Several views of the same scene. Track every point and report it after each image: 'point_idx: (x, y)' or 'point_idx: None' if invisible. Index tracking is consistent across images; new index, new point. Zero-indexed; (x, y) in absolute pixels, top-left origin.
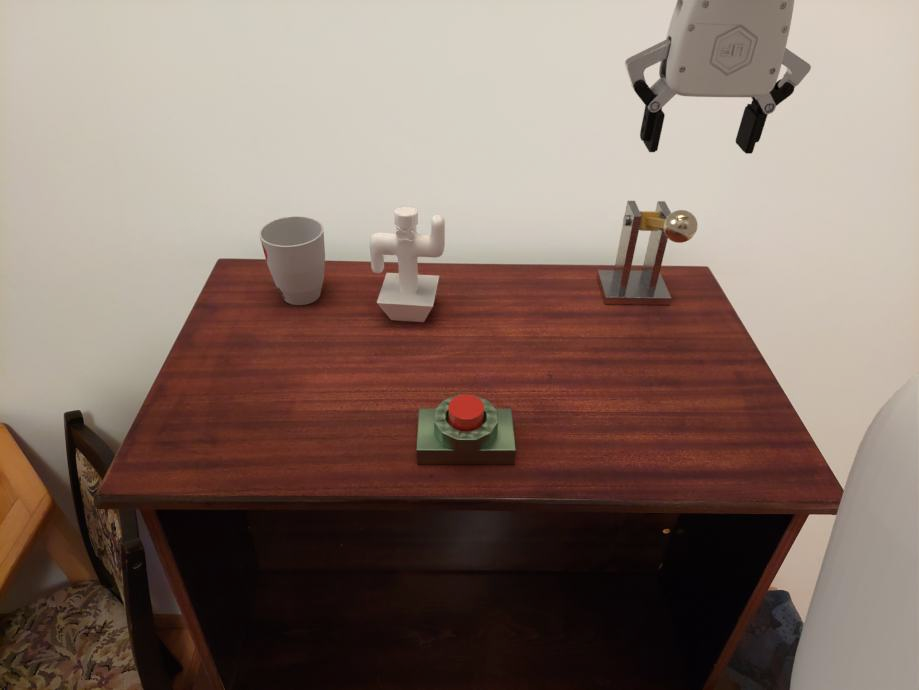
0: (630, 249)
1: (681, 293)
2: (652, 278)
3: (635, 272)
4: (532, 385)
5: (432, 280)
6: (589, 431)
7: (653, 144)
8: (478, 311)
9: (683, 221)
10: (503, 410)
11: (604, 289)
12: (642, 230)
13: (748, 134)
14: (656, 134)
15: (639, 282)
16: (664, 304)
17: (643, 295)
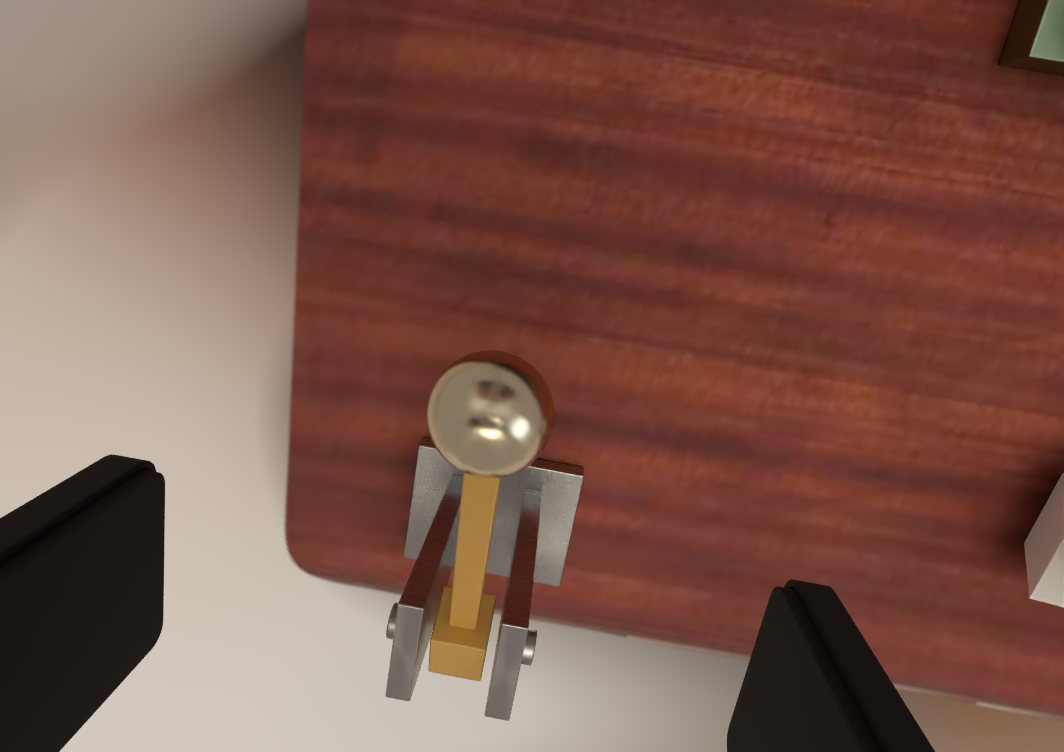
0: (527, 556)
1: (374, 477)
2: (459, 495)
3: None
4: (886, 193)
5: (1057, 581)
6: (816, 4)
7: (839, 611)
8: (908, 492)
9: (502, 389)
10: (1052, 52)
11: (575, 506)
12: (492, 595)
13: (80, 557)
14: (862, 665)
15: None
16: None
17: None
